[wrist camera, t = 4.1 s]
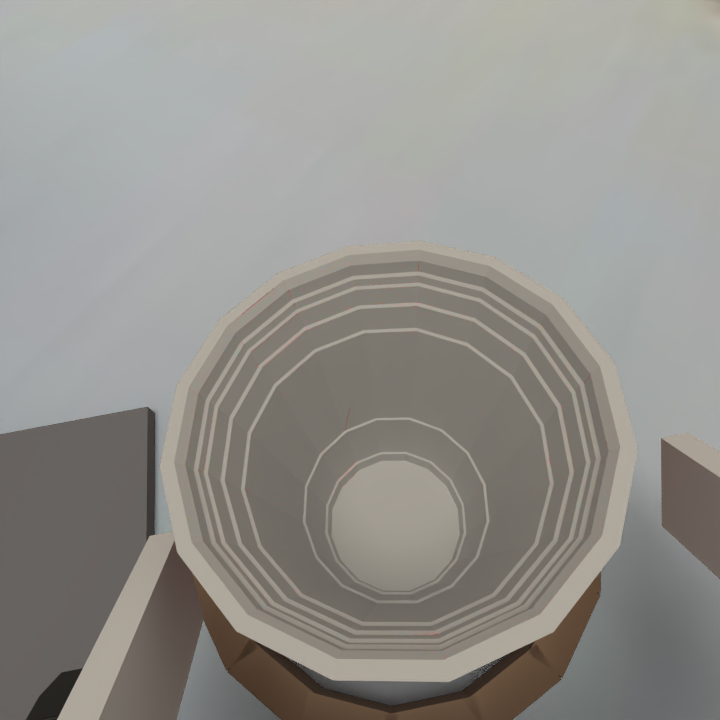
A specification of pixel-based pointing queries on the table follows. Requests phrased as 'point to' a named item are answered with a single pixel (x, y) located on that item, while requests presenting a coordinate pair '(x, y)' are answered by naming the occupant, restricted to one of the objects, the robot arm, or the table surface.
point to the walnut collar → (430, 716)
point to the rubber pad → (67, 542)
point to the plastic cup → (398, 462)
